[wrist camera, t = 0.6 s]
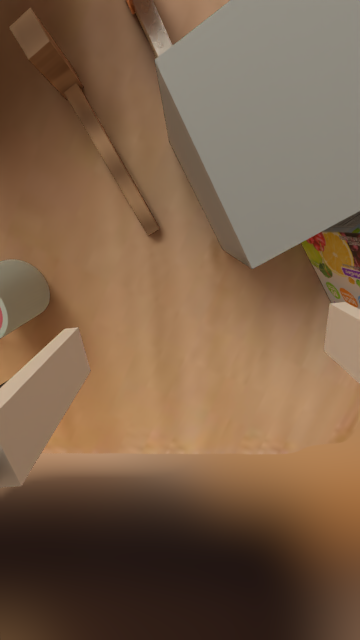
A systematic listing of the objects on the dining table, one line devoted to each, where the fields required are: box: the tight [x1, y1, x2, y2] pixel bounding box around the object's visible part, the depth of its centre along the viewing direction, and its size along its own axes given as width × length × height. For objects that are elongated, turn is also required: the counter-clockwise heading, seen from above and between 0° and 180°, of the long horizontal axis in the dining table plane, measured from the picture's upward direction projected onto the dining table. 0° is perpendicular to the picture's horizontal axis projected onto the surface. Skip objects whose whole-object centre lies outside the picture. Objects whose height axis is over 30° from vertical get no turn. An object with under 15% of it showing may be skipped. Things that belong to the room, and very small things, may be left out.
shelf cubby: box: [155, 0, 360, 269], centre depth 24 cm, size 15×21×17 cm
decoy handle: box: [9, 8, 160, 236], centre depth 28 cm, size 20×2×8 cm, turn 30°
